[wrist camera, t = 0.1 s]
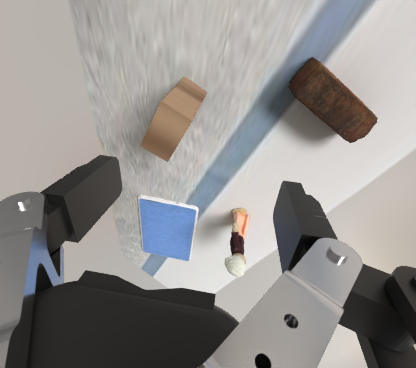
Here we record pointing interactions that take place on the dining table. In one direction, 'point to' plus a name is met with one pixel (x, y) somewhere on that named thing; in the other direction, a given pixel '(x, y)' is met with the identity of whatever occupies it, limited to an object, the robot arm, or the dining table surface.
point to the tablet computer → (167, 227)
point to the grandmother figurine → (237, 243)
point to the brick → (332, 101)
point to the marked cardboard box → (173, 118)
